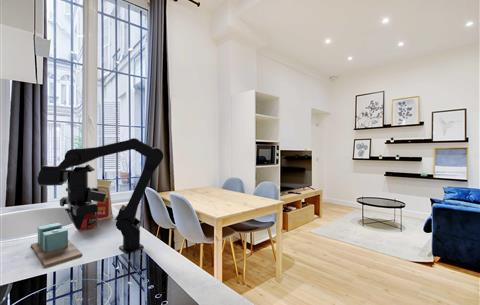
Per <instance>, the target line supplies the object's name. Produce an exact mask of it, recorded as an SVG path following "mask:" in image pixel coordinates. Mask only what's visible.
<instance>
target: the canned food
mask: <svg viewBox="0 0 480 305" xmlns="http://www.w3.org/2000/svg"><path fill="white" fill-rule="evenodd" d="M91 202H92V203H94V204H96V205H97V202H95V201H93V200H91ZM86 203H89V202H86ZM97 226H98V220H97V212H96V213H91V214H86V215H85V217H84V220H83V223H82V226H81V229H78V230H79V231H87V230H92V229H95V228H96V227H97Z"/></svg>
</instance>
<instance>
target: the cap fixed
mask: <svg viewBox="0 0 480 305" xmlns="http://www.w3.org/2000/svg"><path fill="white" fill-rule="evenodd" d="M61 228H63V226H62V223H60V222H55V223H51V224H45V225H41V226H40V225H39V226H37V242H38V244H39V245H40V246H41V245H43V243H42V242H43V232H44V231H49V230H54V229H61Z"/></svg>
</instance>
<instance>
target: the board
mask: <svg viewBox="0 0 480 305" xmlns="http://www.w3.org/2000/svg"><path fill="white" fill-rule="evenodd" d="M42 243H43V242H42ZM30 244H31V245H30V247H31V248H32V250H33V251H34V253H35V254H36V257H37V258H38V260H39V261H40V262H41V265H42V266H43V267H44V268H48V267H51V266H54V265H57V264H60V263H64V262H67V261H70V260H73V259H77V258H80V257H82V256H83V253H82V251H80V249H78V248H77V247H76V246H75V245H74V243H72V242H71V241H70V239H68V247H65V248H61V249H57V250H54V251H50V252H47V253H45V252H44V251H43V245H41V246H40V245H39V244H38V241H37V242H33V243H30Z"/></svg>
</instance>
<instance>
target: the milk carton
mask: <svg viewBox="0 0 480 305" xmlns="http://www.w3.org/2000/svg"><path fill="white" fill-rule="evenodd" d="M96 182H97V183H96V187H95V188H97V189H98V190H99V192H102V193H105V194H106V197H105V199H104V202H100V201H95V202H97V206H98V212H97V221H102V220H108V219H111V218H112V217H113V209H112V207H113V206H112V200H111V199H112V198H111V190H110V189H111V187H110V186H111V184H112V183H113V182H114V181H113V180H107V179H100V178H96ZM92 201H94V200H92Z"/></svg>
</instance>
